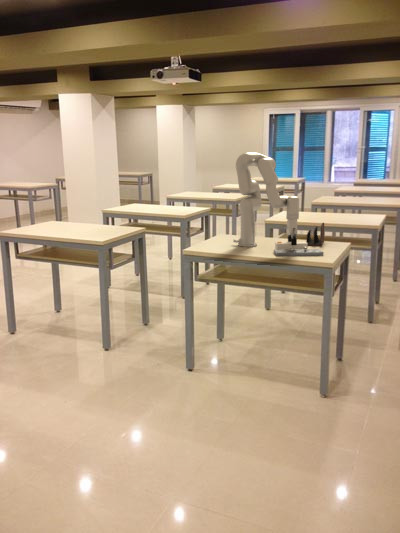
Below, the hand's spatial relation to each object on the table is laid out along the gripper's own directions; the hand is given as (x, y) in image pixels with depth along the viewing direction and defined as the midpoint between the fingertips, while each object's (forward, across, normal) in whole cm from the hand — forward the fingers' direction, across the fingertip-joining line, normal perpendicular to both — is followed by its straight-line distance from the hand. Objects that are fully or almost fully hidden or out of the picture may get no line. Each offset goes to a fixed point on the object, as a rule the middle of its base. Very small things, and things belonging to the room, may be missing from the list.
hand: (292, 243), depth 306 cm
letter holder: (+5, -23, +21) cm, 32 cm away
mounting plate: (+4, +11, +1) cm, 12 cm away
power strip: (+4, 0, -1) cm, 4 cm away
